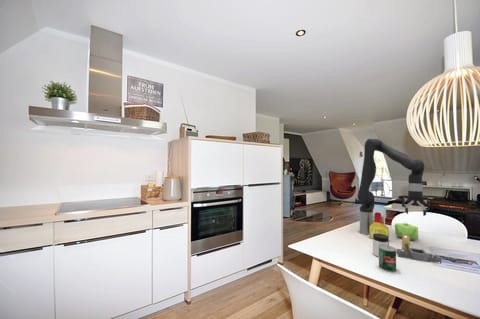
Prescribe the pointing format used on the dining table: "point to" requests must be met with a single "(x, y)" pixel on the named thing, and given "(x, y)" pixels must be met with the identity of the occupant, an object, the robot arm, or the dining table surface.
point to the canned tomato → (387, 258)
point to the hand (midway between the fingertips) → (415, 214)
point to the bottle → (378, 226)
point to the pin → (405, 242)
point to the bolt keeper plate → (418, 255)
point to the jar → (379, 242)
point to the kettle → (406, 230)
